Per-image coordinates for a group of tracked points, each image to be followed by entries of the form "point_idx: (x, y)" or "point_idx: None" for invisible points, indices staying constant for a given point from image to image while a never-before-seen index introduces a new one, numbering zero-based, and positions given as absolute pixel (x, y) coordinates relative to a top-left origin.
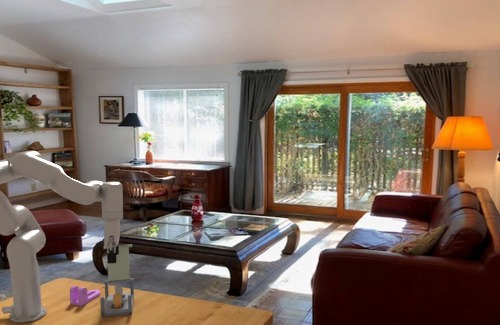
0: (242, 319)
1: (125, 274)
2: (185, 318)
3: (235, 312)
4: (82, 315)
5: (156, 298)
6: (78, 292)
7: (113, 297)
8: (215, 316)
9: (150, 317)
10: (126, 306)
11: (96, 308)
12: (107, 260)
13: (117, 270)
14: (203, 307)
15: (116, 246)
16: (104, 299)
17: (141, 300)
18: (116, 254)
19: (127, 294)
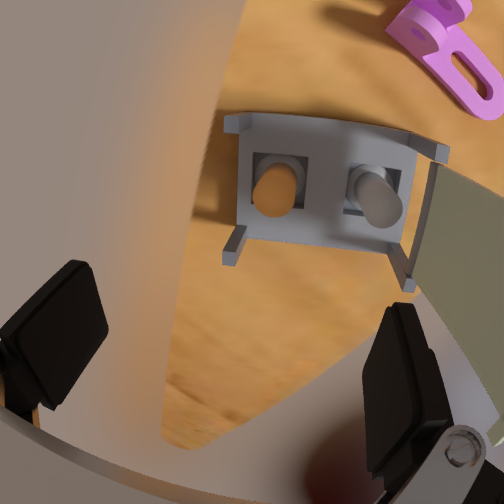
0: (165, 422)
1: (428, 272)
2: (179, 355)
3: (196, 426)
4: (283, 36)
5: (348, 315)
6: (408, 8)
7: (264, 177)
8: (182, 400)
9: (200, 282)
10: (261, 218)
11: (340, 88)
12: (56, 275)
13: (456, 243)
14: (234, 398)
15: (374, 450)
16: (372, 126)
17: (354, 268)
18: (368, 359)
19: (389, 229)
